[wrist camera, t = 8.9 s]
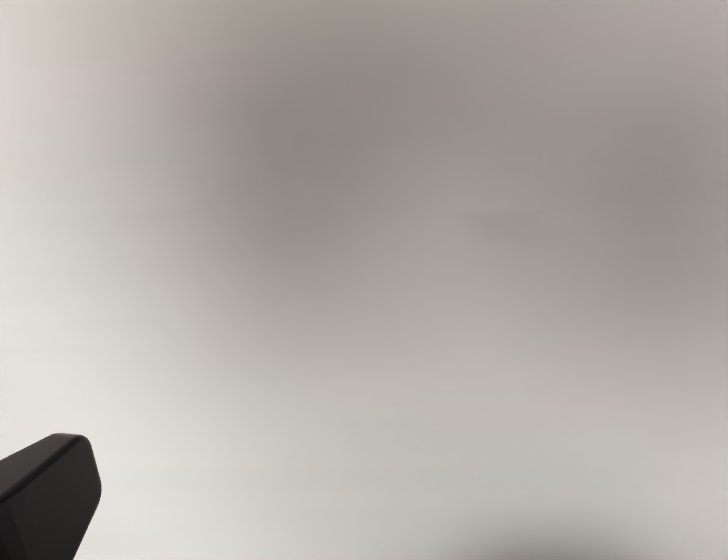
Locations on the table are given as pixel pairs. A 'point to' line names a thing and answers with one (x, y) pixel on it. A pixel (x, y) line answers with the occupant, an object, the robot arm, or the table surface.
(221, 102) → the table surface
